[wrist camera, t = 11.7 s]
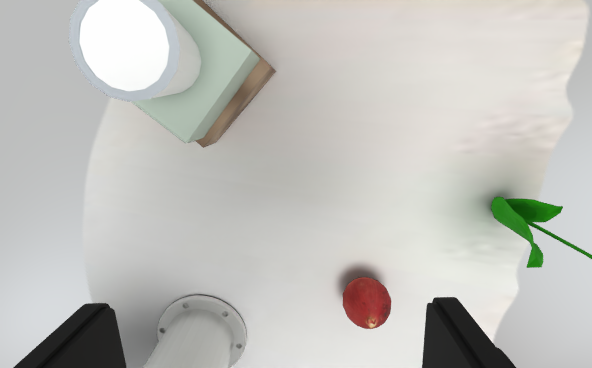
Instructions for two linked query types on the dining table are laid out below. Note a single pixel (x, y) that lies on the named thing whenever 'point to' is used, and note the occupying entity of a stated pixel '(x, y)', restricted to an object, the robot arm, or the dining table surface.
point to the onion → (366, 302)
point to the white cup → (133, 49)
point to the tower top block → (202, 75)
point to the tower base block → (243, 95)
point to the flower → (528, 222)
